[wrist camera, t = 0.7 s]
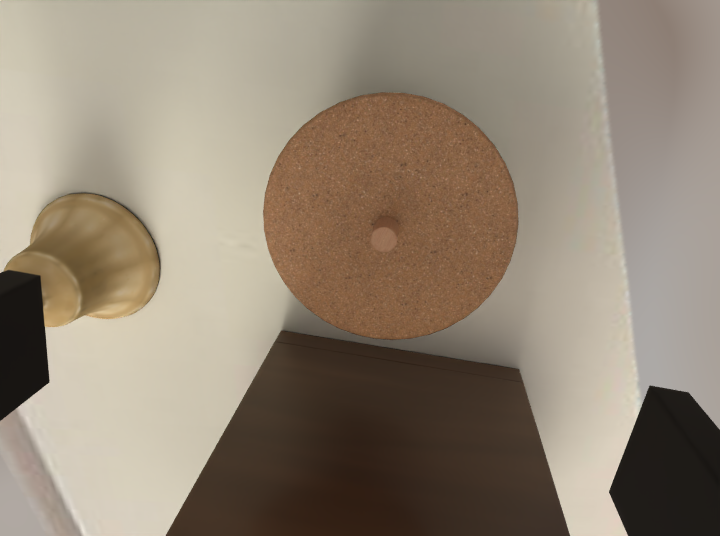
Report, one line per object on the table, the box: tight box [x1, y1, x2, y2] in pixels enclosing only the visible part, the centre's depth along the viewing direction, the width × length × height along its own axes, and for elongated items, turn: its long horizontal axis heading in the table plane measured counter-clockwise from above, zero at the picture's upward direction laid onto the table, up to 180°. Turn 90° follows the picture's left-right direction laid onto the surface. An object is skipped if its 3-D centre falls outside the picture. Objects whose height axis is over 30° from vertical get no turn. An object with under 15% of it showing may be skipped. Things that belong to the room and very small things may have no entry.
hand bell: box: [4, 193, 160, 327], centre depth 26 cm, size 8×8×16 cm
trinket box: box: [263, 92, 518, 340], centre depth 25 cm, size 11×11×9 cm
